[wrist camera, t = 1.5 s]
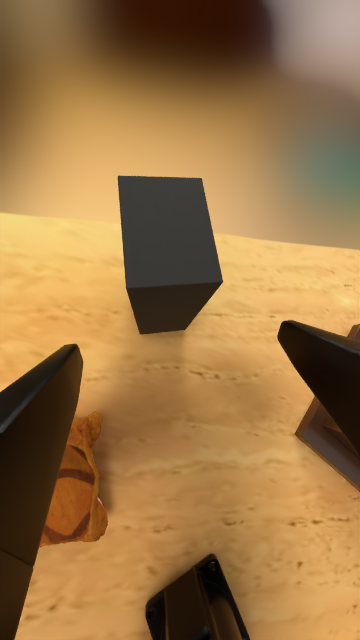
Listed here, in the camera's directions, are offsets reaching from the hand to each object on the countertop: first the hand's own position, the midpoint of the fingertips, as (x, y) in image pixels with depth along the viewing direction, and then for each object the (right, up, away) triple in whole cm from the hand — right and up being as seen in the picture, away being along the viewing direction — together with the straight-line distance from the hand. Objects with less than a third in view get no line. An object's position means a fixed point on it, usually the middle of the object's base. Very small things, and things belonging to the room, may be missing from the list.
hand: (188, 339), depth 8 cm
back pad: (-3, +3, +14) cm, 14 cm away
